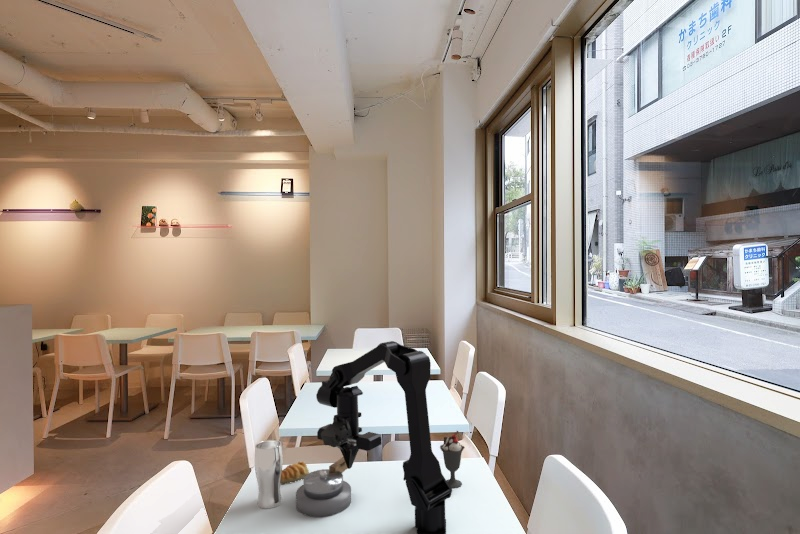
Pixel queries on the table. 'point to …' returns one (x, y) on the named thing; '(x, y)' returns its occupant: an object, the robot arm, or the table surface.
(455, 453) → the sundae
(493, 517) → the table surface
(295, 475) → the pastry
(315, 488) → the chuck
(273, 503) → the beer glass
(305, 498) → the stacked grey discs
